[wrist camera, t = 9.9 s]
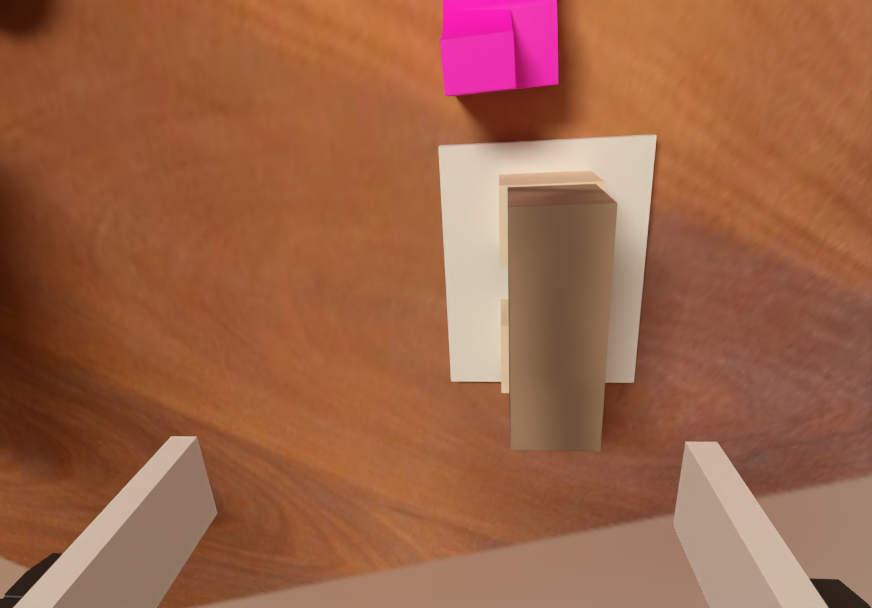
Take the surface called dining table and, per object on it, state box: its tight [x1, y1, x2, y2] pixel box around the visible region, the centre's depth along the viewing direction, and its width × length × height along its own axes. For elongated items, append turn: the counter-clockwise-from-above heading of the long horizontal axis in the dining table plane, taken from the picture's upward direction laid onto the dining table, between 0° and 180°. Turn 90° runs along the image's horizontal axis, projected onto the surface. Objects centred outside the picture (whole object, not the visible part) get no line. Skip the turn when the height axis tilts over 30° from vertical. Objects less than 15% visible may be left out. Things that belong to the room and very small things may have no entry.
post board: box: [438, 134, 657, 393], centre depth 35 cm, size 14×18×6 cm
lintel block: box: [508, 184, 617, 452], centre depth 30 cm, size 5×14×6 cm, turn 3°
